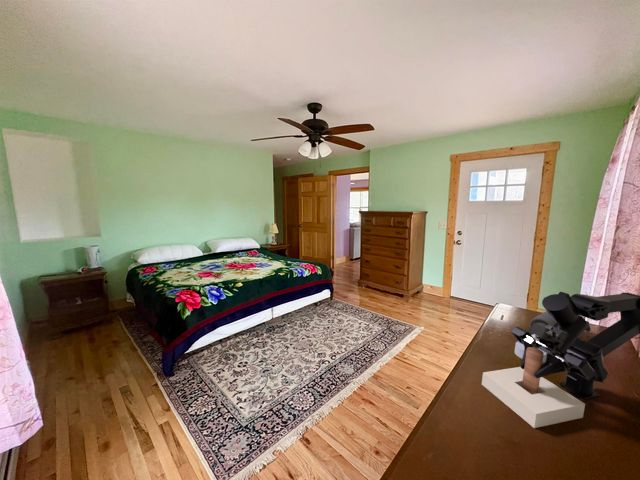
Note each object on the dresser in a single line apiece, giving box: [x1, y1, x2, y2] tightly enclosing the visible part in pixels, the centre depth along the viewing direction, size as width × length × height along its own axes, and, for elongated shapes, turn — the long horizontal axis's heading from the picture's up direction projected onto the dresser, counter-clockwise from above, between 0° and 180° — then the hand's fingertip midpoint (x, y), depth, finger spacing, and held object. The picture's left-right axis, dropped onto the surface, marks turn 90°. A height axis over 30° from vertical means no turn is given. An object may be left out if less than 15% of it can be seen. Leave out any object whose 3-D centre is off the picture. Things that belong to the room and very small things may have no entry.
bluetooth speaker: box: [528, 311, 556, 329], centre depth 111 cm, size 23×9×10 cm, turn 120°
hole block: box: [481, 366, 586, 429], centre depth 73 cm, size 16×16×4 cm
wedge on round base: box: [514, 333, 548, 365], centre depth 96 cm, size 9×7×13 cm
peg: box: [522, 347, 544, 394], centre depth 72 cm, size 4×4×13 cm
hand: (528, 372), depth 72 cm, fingers closed on peg, 4 cm apart
